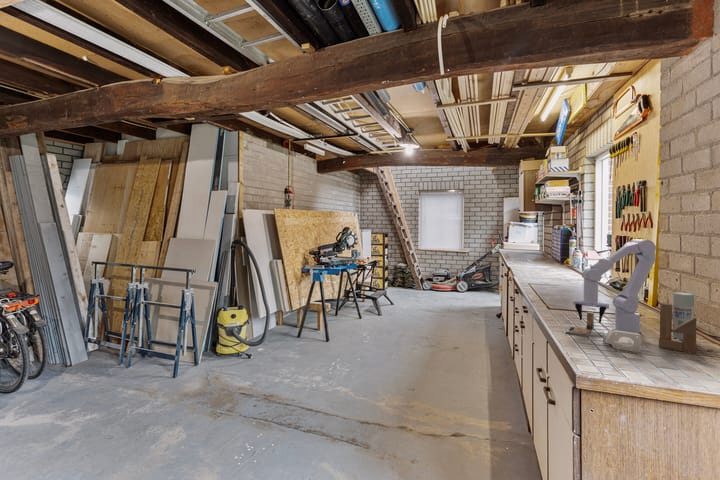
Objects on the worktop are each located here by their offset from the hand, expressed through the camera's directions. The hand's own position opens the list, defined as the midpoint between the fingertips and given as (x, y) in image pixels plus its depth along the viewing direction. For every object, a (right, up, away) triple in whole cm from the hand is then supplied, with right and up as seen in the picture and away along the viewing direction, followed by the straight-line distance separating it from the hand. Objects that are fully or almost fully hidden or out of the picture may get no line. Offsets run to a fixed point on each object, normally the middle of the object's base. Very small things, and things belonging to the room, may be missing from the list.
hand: (590, 320), depth 164 cm
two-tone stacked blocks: (0, -4, 0) cm, 4 cm away
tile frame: (-9, -4, -6) cm, 12 cm away
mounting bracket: (-6, -5, -26) cm, 27 cm away
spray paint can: (+29, -4, -16) cm, 34 cm away
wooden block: (+15, -5, -28) cm, 33 cm away
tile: (-9, -5, -7) cm, 12 cm away
